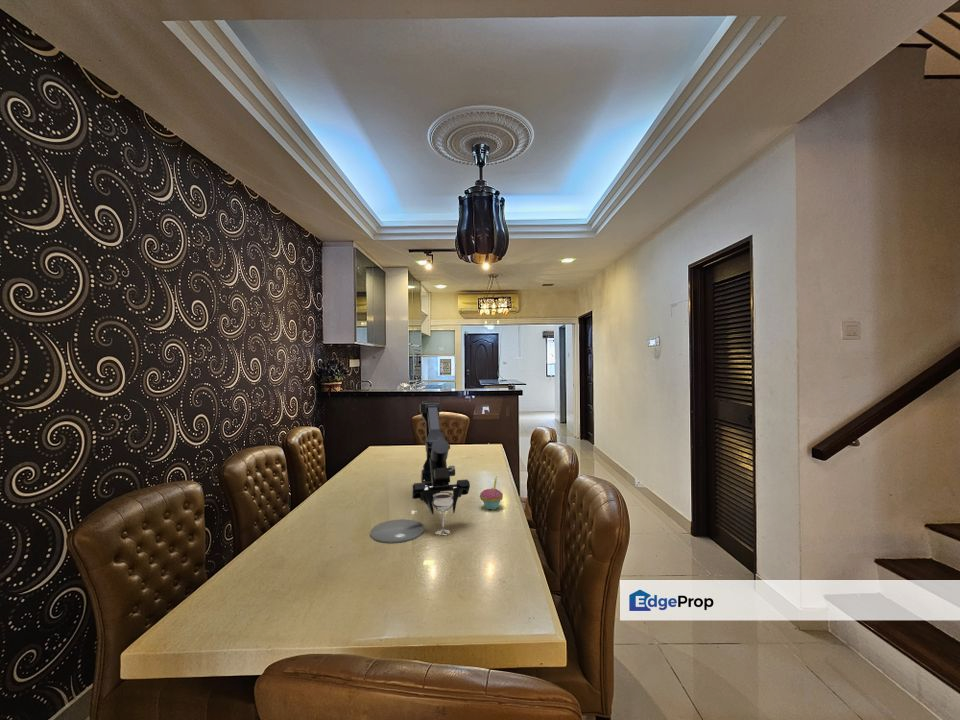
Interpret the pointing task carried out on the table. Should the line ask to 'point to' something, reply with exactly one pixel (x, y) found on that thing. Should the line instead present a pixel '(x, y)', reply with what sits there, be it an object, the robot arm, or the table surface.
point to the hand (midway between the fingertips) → (443, 513)
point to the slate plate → (397, 531)
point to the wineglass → (442, 506)
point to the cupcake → (491, 497)
